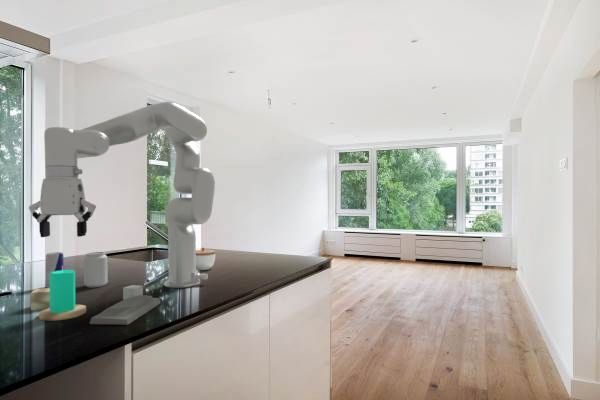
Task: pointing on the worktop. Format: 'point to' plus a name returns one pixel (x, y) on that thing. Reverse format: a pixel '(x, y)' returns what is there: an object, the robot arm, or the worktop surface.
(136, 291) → the grey stone block
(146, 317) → the worktop surface
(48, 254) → the energy drink
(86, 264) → the can
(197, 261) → the lidded jar
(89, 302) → the worktop surface
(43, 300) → the maple cube
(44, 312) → the disc
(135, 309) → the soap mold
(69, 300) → the candle
